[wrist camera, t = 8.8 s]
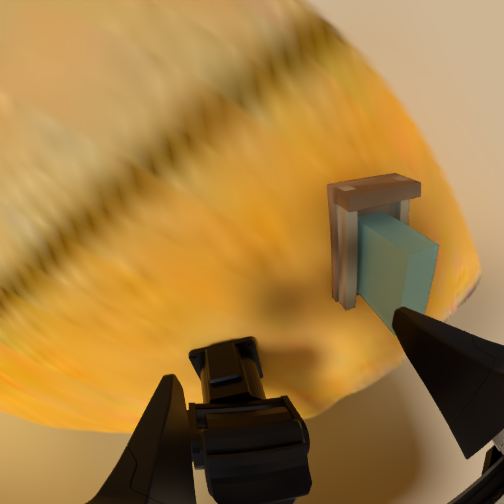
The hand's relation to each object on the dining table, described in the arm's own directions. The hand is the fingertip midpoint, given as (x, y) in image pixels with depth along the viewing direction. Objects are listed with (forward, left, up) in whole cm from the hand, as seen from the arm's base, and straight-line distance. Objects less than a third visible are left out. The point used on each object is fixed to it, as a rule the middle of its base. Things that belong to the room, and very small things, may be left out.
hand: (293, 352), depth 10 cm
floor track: (-4, -11, -12) cm, 17 cm away
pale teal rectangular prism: (-4, -11, -12) cm, 16 cm away
